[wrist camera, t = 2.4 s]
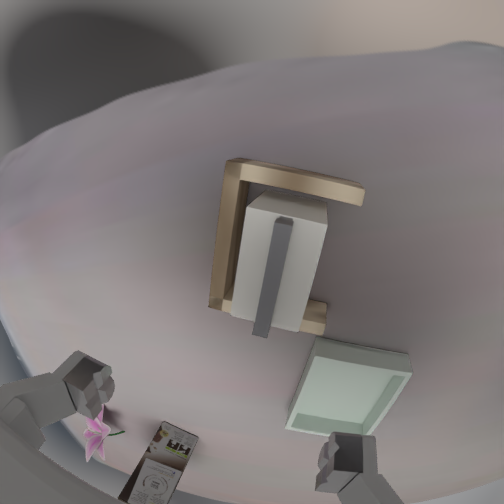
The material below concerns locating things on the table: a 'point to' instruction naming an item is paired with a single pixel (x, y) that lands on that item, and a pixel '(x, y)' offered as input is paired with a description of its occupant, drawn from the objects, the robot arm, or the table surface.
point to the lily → (96, 435)
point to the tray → (346, 388)
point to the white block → (278, 260)
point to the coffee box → (160, 467)
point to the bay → (233, 216)
